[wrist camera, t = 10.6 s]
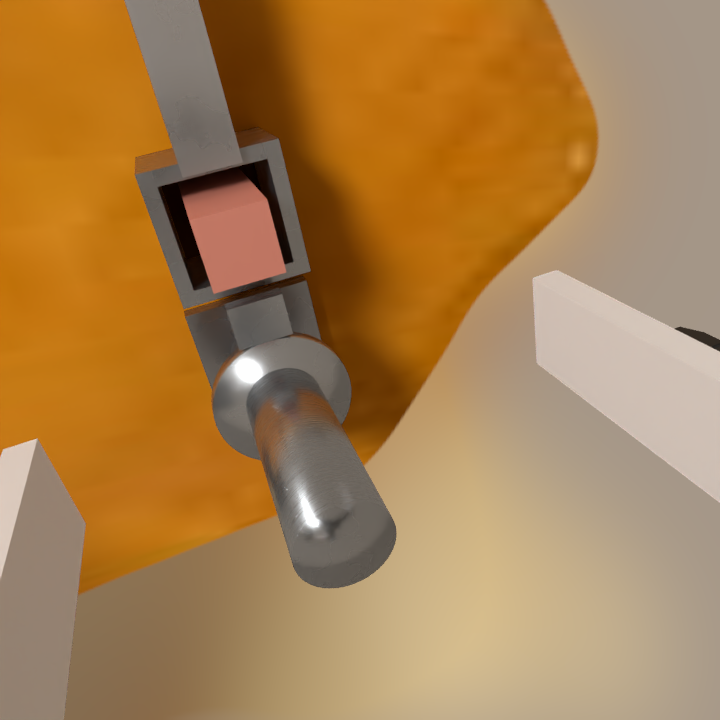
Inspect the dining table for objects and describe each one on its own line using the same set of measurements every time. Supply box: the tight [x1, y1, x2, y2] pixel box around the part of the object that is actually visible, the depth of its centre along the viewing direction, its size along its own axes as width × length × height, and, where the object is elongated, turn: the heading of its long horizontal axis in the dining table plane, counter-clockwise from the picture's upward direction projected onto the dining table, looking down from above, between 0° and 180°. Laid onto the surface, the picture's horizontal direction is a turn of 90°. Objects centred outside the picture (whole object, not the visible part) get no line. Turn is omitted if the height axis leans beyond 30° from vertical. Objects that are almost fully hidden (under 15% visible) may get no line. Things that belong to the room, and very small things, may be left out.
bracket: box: [124, 0, 311, 309], centre depth 31 cm, size 7×20×6 cm, turn 11°
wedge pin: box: [178, 166, 286, 294], centre depth 32 cm, size 4×4×10 cm
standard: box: [184, 276, 396, 588], centre depth 32 cm, size 8×10×20 cm
